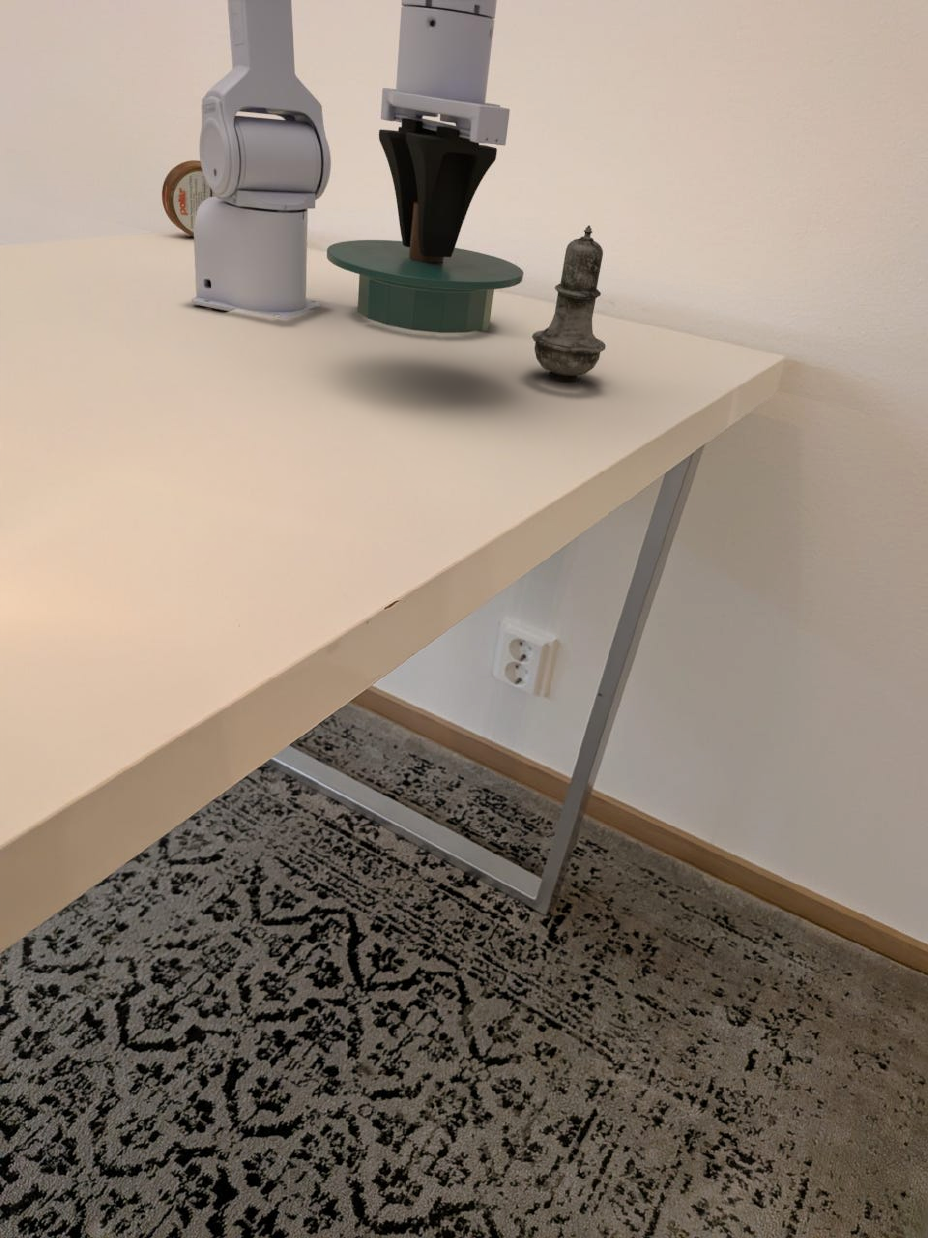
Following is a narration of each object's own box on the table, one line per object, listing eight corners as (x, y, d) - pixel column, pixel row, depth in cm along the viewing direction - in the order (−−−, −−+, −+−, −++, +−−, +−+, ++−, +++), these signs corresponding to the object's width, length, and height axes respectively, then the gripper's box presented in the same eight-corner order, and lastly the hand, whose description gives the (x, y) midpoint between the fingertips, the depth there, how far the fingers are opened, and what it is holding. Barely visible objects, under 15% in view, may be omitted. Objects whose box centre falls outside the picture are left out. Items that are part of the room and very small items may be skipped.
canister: (335, 320, 81) (338, 258, 78) (386, 298, 91) (390, 242, 89) (465, 346, 78) (472, 283, 75) (502, 320, 89) (510, 263, 86)
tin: (281, 237, 115) (282, 165, 110) (290, 242, 112) (290, 169, 108) (163, 233, 108) (158, 156, 103) (169, 238, 105) (165, 160, 101)
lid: (291, 272, 57) (292, 194, 55) (372, 247, 68) (376, 182, 66) (490, 310, 54) (500, 230, 52) (540, 278, 66) (551, 211, 63)
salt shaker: (549, 397, 68) (578, 230, 62) (512, 374, 72) (535, 216, 66) (611, 394, 71) (644, 234, 64) (571, 372, 75) (599, 220, 69)
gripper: (567, 25, 50) (530, 276, 57) (453, 21, 61) (434, 233, 68) (457, 5, 47) (432, 273, 54) (357, 5, 57) (347, 229, 65)
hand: (427, 251), depth 61 cm, fingers closed on lid, 2 cm apart
